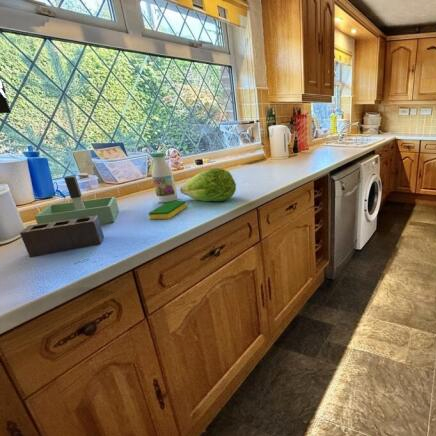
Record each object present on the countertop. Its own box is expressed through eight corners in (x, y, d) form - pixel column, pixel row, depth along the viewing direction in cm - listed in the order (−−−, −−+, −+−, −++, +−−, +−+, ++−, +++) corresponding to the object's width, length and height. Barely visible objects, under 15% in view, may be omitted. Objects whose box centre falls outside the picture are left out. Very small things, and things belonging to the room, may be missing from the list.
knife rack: (29, 257, 80) (19, 232, 77) (37, 248, 85) (28, 225, 82) (100, 244, 86) (93, 221, 84) (104, 236, 91) (97, 215, 89)
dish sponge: (187, 206, 118) (185, 200, 117) (169, 218, 105) (168, 212, 104) (169, 207, 118) (167, 201, 117) (149, 219, 105) (147, 212, 104)
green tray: (41, 233, 96) (34, 216, 94) (54, 220, 108) (49, 205, 106) (114, 221, 104) (109, 206, 102) (119, 210, 116) (115, 196, 114)
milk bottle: (162, 198, 132) (151, 151, 125) (180, 197, 132) (171, 151, 126) (154, 203, 124) (143, 154, 118) (174, 202, 125) (163, 153, 118)
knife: (78, 220, 104) (63, 178, 99) (79, 218, 106) (65, 176, 101) (87, 219, 105) (73, 177, 100) (88, 217, 107) (75, 175, 102)
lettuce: (200, 195, 138) (187, 167, 131) (244, 191, 129) (232, 161, 123) (178, 211, 126) (162, 182, 119) (225, 208, 117) (210, 176, 111)
